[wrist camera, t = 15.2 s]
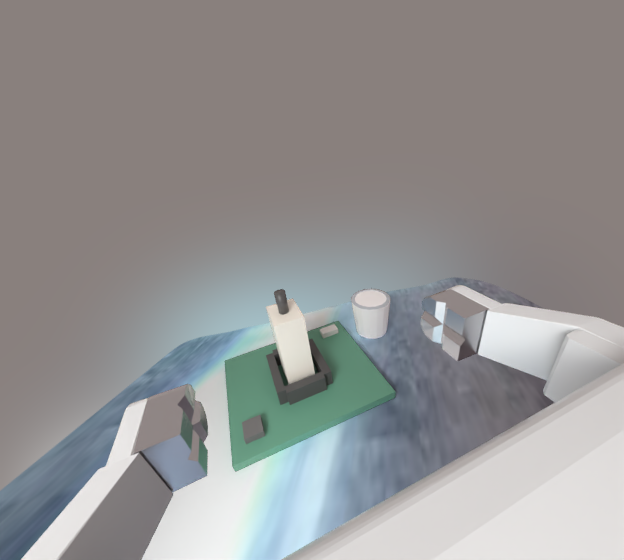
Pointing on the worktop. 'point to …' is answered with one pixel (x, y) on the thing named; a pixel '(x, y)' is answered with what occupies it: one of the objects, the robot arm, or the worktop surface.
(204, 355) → the worktop surface
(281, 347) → the plug
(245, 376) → the circuit board
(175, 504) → the worktop surface
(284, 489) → the worktop surface
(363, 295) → the white cup
